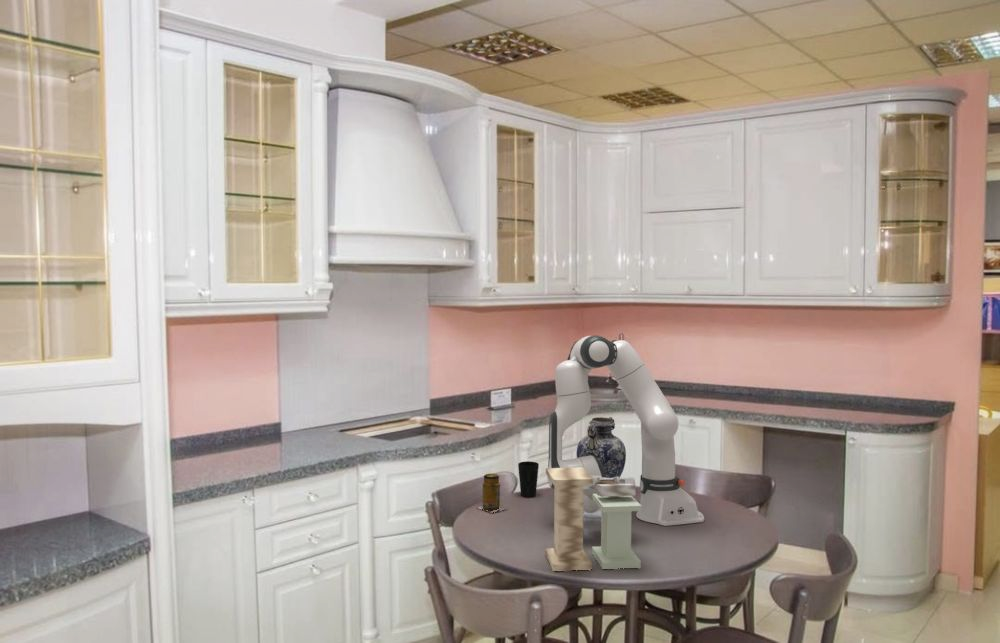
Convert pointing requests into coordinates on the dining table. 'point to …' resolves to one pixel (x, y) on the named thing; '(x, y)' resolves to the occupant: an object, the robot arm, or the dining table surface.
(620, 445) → the decorative vase
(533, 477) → the cup
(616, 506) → the pedestal low
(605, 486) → the mallet
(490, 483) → the condiment
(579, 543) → the pedestal tall
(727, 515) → the dining table surface
